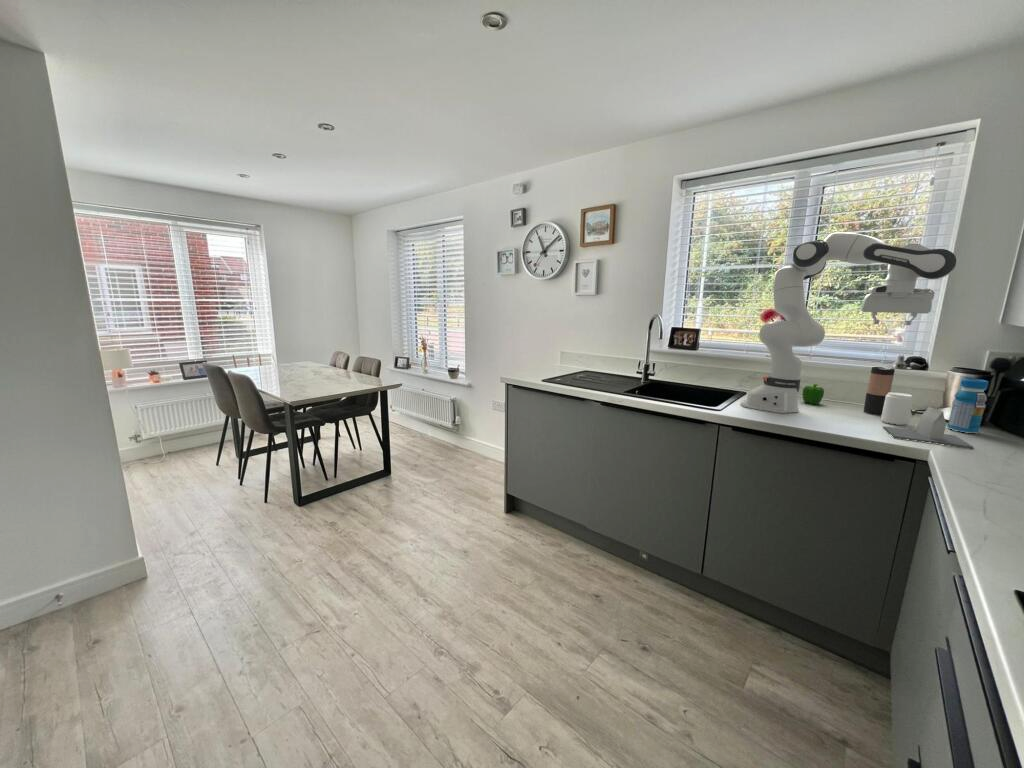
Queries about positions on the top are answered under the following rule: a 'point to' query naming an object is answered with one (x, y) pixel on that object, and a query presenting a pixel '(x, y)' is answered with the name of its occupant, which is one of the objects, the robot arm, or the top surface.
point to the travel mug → (878, 389)
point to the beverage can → (897, 408)
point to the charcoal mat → (912, 435)
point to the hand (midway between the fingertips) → (891, 324)
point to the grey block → (932, 424)
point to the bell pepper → (813, 394)
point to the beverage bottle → (968, 406)
